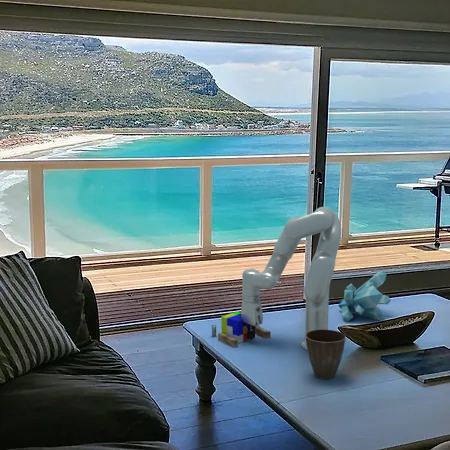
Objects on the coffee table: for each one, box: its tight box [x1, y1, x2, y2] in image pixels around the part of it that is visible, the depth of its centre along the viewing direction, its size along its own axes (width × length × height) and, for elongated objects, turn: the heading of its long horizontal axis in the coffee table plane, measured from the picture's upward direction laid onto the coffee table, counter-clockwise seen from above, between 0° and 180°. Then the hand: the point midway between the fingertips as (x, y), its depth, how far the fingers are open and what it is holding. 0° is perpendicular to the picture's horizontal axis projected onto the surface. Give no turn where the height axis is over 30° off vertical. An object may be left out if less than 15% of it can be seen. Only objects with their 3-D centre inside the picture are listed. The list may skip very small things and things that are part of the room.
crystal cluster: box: [338, 271, 392, 322], centre depth 315 cm, size 22×26×21 cm
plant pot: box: [306, 329, 346, 381], centre depth 247 cm, size 15×15×16 cm
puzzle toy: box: [220, 311, 249, 344], centre depth 290 cm, size 10×10×10 cm
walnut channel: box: [217, 326, 272, 348], centre depth 289 cm, size 12×20×3 cm, turn 125°
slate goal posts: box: [211, 324, 217, 338], centre depth 298 cm, size 2×20×5 cm, turn 125°
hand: (251, 338), depth 285 cm, fingers closed
